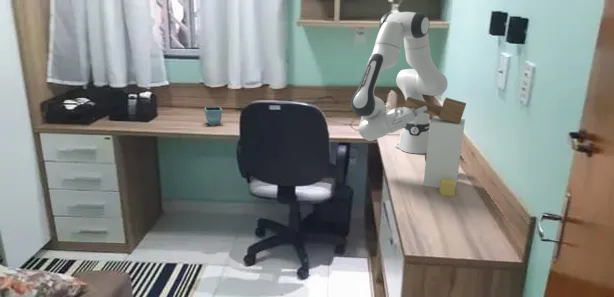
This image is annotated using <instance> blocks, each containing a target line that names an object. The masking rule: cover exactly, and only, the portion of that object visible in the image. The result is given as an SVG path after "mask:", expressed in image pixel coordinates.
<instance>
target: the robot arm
mask: <svg viewBox="0 0 614 297" xmlns="http://www.w3.org/2000/svg"><path fill="white" fill-rule="evenodd" d="M382 15H383V16H382V17H381V18H380V21H379V27H378V28H379V31H378V33H377V36H376V38H375V43H374V46H373V51H372V52H371V55H370V57H369V58H368V61H367V62H366V65H365V68H364V70H363V73H362V76H361V80H360V82H359V85H358V88H356V91H355V92H354V93H353V95H352V97H351V100H350V108H351V111H352V112H353V114H355V115H356V116H359V117H361V118H360V121H359V124H358V126H357V130H358V132H359V134H360V136H361V137H362V139H364V140H365V141H369V142H371V141H374V140H378V139H380V138H383V137H385V136H387V135H388V134H390V133H391V134H392V133H395V132H398V131H400V134H399V142H398V143H397V144H395V148H396V149H399V150H401V151H402V152H406V153H408V154H409V153H411V154H416V155H417V154H422V155H423V154H426V152H427V147H428V137H429V128H430V117H431V116H430V115H431V114H427V113H424V112H423V111H426V110H427V109H428V107H427V105H425V106H422V107H420V108H418V109H415V108H412V109H410V108H407V107H404V106H403V107H401V106H399V107H394V108H392V109H389V110H387V108H386V104H385V102H384V101H383V99H381V97H378V96H376V95H375V89H376V85H377V83H378V80H379V78H380V75H381V73H382V72H383V71H384V70H387V69H390V68H393V67H394V66H395V65H396V64H397V62H398V60H399V57H400V54H401V50H402V47H404V53H405V60H406V63H407V64H408V65H409V66H410V67H411V68H406V69H405V68H404V69H401V70H400V71H399V72H398V74H397V75H396V81H395V83H396V85H397V87H398V88H399V89H400V91H401V92H402V94H403V97H404V101H406V99H407V98H408V97H411V98H414V99H418V100H421V101H425V102H427V101H426V100H425V99H424V96H423V95H426V96H431V97H432V96H433V97H435V96H442V95H443V94H444V93H445V92H446V90H448V89H447V88H448V78H447V77H446V75H444V74H443V73H442V72H441V71H440V70H439V68H437V66H436V64H435V63H434V60H433V58H432V55H431V47H430V39H429V33H428V32H429V30H430V23H431V22H430V19H429V17H428V16H427V14H425V13H423V12H419V11H418V12H414V11H397V12H393V11H392V12H386V13H385V14H382ZM401 130H402V131H401Z"/></svg>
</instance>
